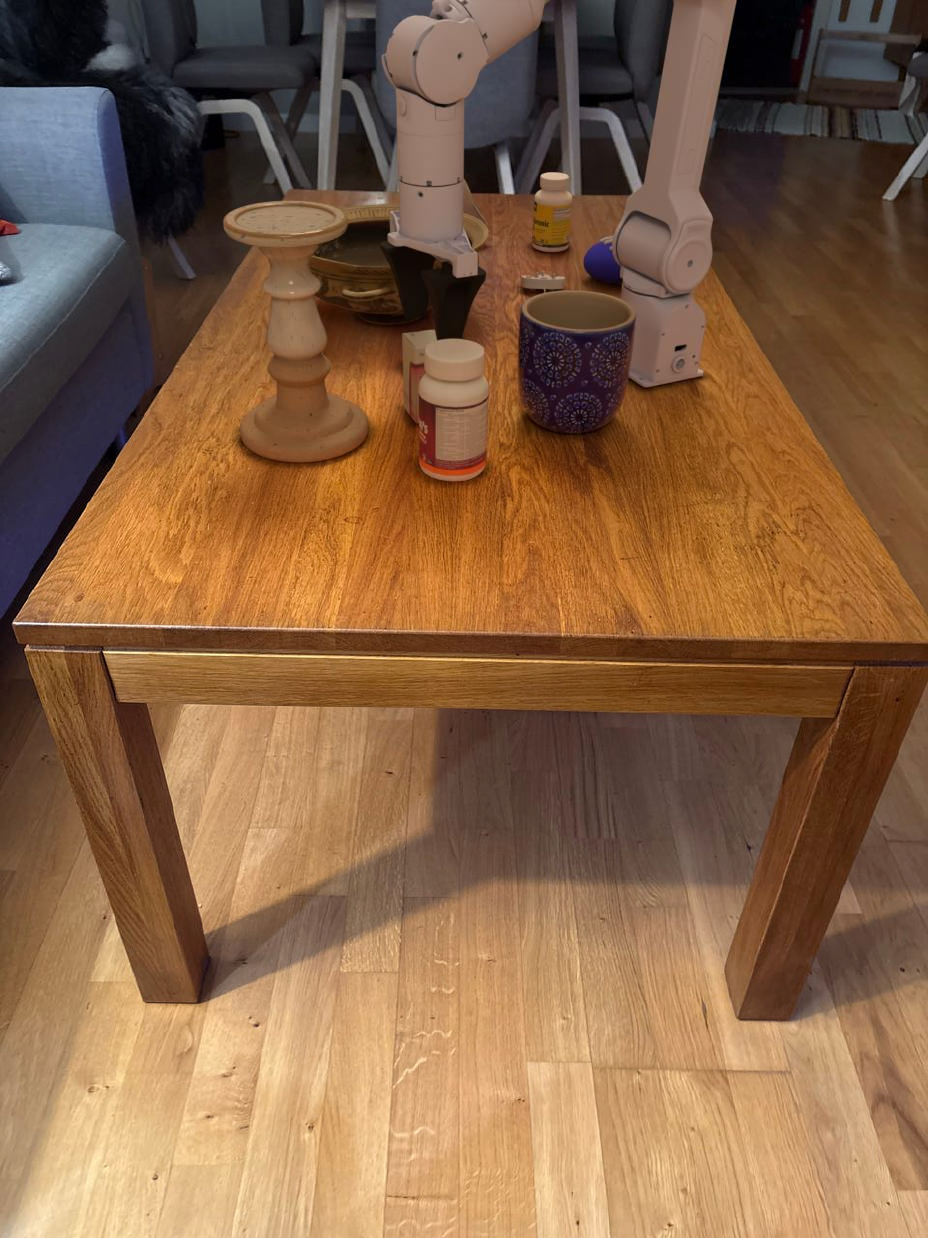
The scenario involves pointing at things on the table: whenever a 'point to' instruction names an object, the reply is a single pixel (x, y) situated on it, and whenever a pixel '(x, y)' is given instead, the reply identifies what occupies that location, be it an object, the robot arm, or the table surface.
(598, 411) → the planter
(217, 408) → the table surface
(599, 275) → the decorative object
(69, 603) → the table surface
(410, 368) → the small box
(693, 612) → the table surface
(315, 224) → the candle holder
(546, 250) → the supplement bottle
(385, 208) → the ceramic bowl
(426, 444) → the pill bottle
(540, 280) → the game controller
